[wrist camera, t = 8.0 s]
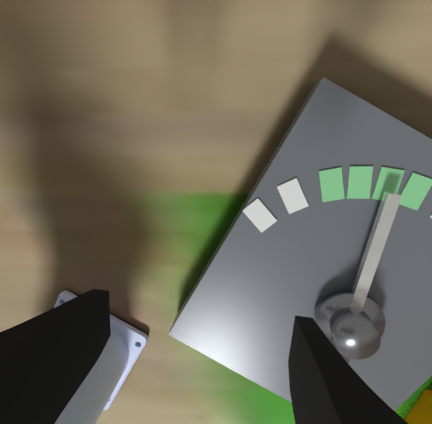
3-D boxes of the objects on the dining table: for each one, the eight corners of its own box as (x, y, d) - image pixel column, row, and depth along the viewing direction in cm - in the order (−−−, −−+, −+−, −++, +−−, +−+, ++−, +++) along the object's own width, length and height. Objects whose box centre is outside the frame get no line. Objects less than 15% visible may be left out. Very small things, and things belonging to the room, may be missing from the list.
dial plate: (352, 410, 24) (363, 443, 22) (176, 313, 24) (167, 335, 21) (544, 215, 18) (589, 229, 16) (314, 82, 18) (323, 76, 15)
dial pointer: (353, 392, 20) (377, 458, 16) (294, 378, 21) (302, 439, 17) (427, 198, 16) (482, 222, 12) (351, 184, 16) (381, 203, 12)
